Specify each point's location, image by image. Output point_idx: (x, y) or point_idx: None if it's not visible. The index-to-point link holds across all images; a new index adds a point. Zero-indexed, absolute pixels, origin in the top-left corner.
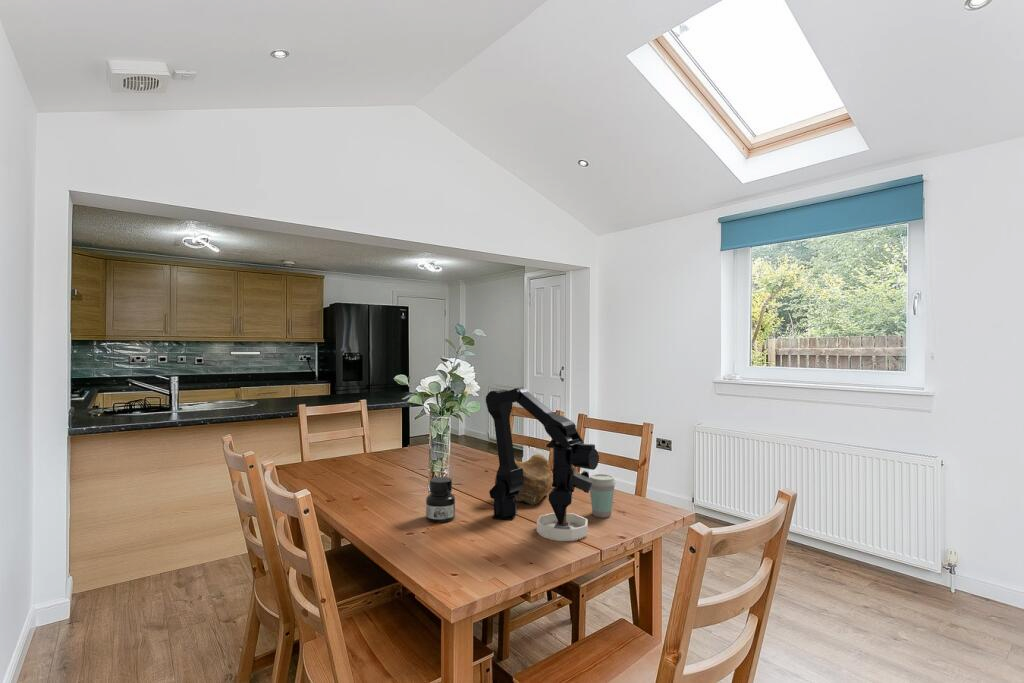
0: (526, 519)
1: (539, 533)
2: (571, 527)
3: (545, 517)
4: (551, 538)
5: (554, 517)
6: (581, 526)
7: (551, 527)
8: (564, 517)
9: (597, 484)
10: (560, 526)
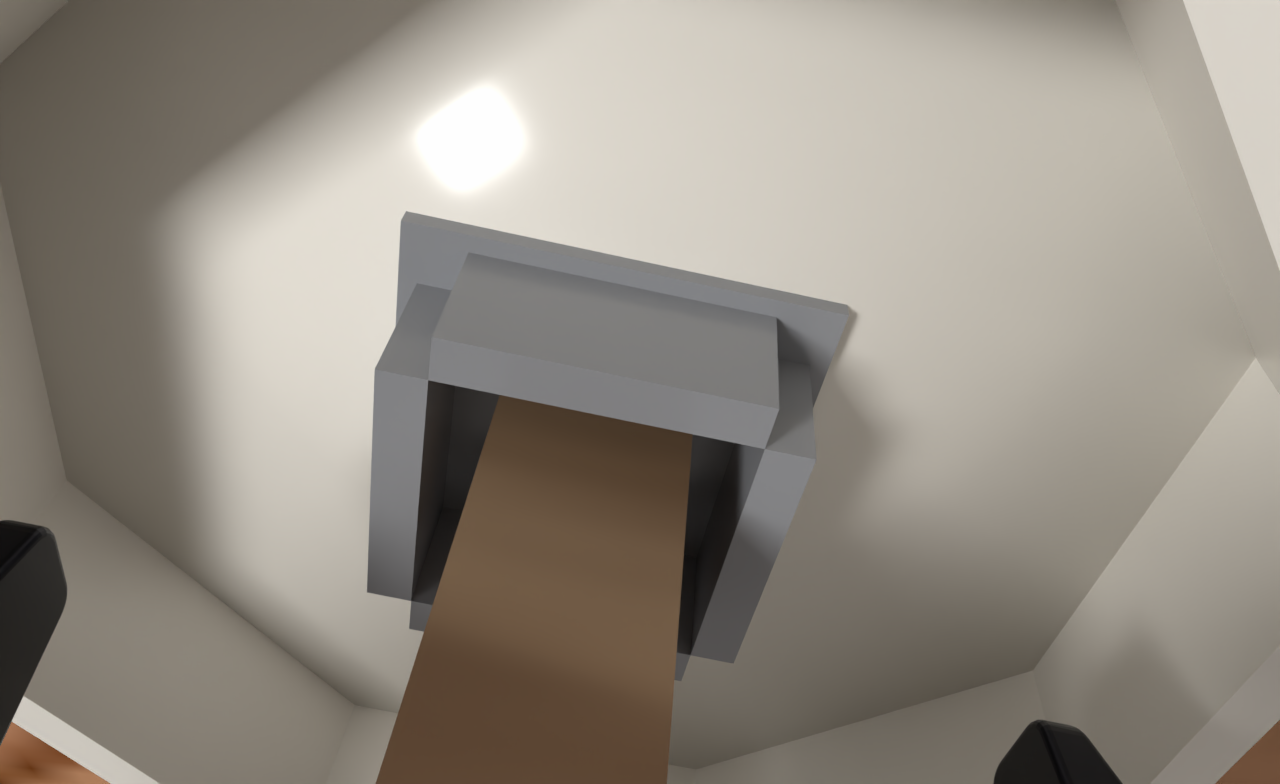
0: (49, 778)
1: (747, 752)
2: (384, 194)
3: (226, 766)
4: (1044, 646)
5: None
6: (1243, 147)
7: None
8: (667, 696)
9: None
10: (760, 591)
